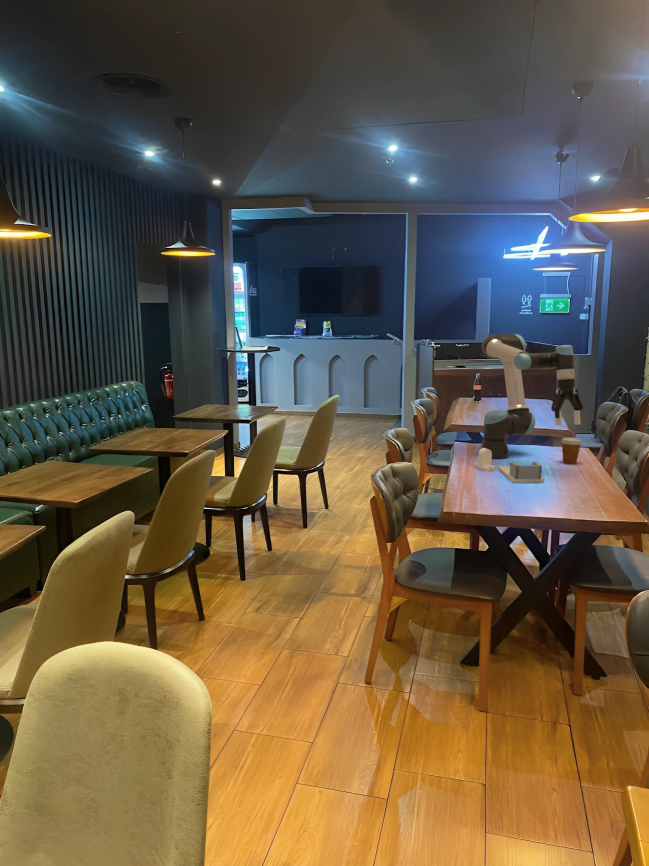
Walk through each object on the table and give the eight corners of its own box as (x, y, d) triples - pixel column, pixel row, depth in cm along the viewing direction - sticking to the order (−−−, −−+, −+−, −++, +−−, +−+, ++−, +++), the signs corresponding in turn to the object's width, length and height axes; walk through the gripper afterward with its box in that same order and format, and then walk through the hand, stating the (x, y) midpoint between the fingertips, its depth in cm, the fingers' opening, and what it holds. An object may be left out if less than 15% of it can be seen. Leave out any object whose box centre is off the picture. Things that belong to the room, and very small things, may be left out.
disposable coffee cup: (578, 460, 315) (580, 437, 313) (581, 465, 306) (583, 441, 304) (558, 459, 318) (560, 436, 315) (560, 464, 309) (562, 440, 306)
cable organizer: (483, 466, 305) (484, 446, 303) (495, 470, 296) (496, 450, 294) (473, 467, 303) (474, 447, 301) (486, 471, 294) (487, 451, 292)
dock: (497, 469, 299) (498, 454, 297) (526, 469, 299) (527, 454, 297) (512, 482, 276) (513, 465, 275) (543, 482, 276) (544, 465, 275)
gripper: (555, 378, 276) (558, 425, 276) (589, 378, 290) (592, 423, 290) (541, 379, 283) (543, 426, 283) (575, 379, 296) (577, 424, 296)
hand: (568, 425), depth 286 cm, fingers open, 13 cm apart
